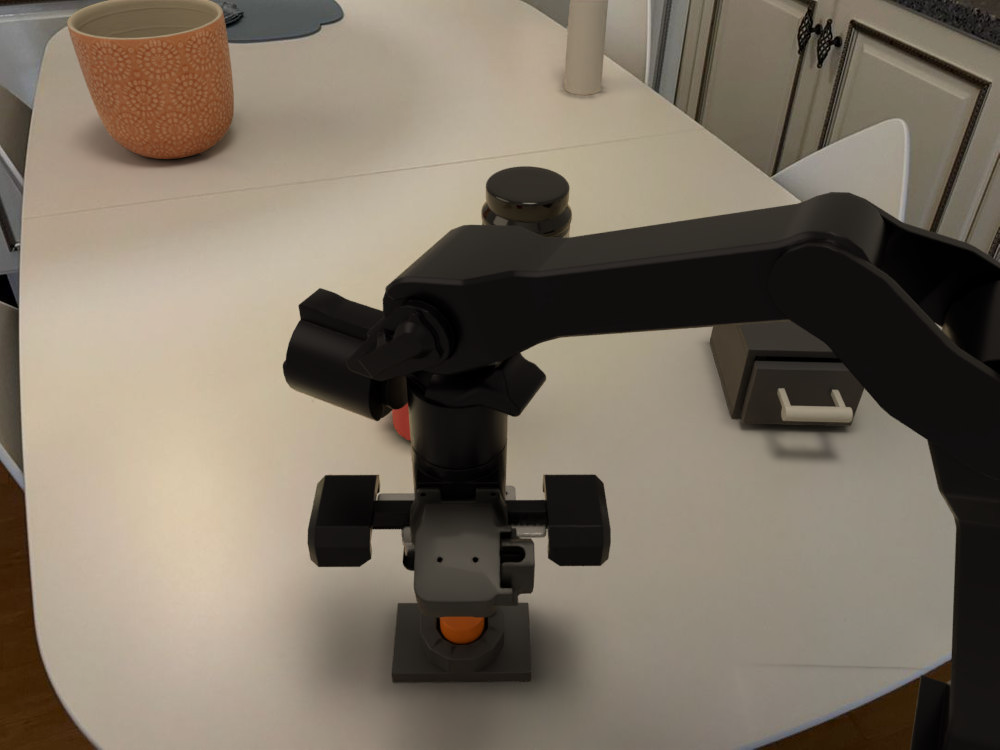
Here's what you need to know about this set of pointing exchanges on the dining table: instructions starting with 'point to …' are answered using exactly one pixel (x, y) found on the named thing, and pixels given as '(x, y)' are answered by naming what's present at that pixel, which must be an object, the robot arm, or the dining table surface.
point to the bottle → (585, 46)
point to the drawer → (801, 392)
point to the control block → (462, 648)
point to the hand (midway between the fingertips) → (462, 597)
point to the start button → (462, 628)
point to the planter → (157, 73)
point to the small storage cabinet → (757, 353)
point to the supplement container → (528, 201)
